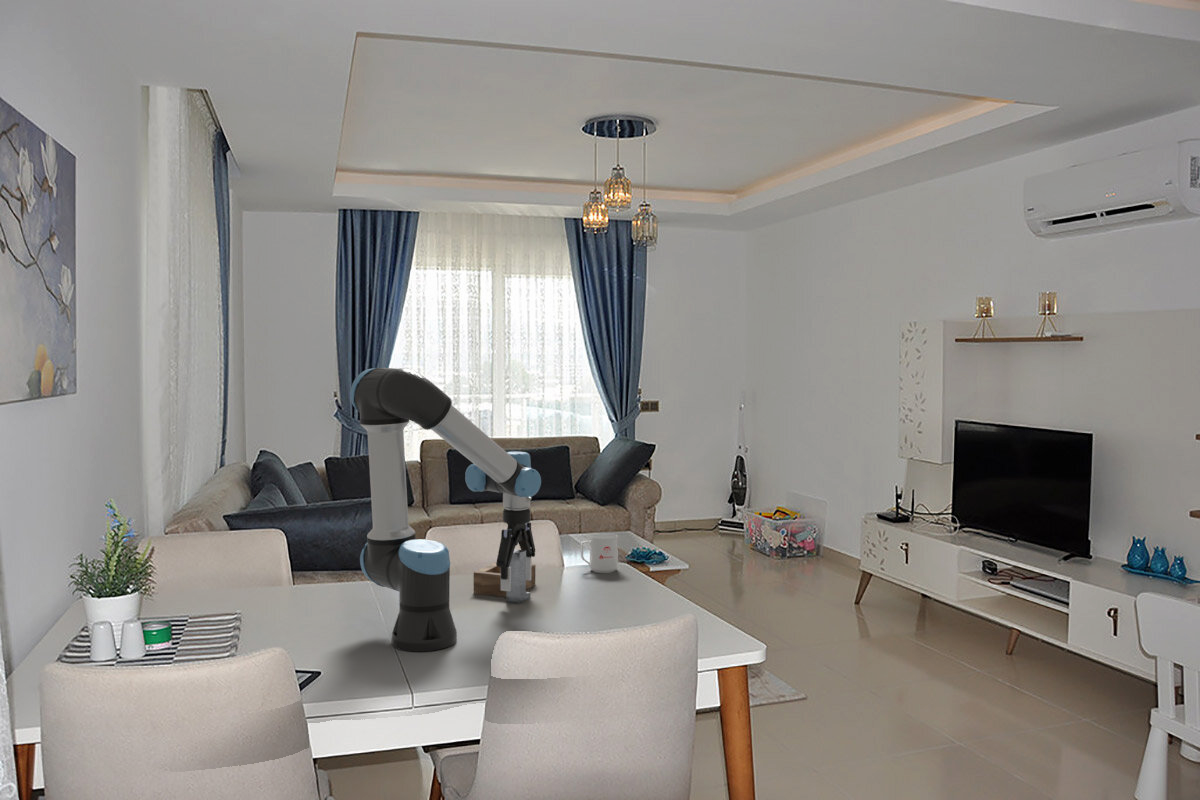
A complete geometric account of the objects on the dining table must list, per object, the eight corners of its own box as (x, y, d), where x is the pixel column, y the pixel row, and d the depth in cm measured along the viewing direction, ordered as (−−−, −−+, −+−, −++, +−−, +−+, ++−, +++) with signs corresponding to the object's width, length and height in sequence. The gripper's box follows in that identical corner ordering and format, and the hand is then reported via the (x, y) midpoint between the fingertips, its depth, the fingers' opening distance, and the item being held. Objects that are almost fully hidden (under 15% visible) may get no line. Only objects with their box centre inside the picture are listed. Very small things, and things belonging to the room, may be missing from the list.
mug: (612, 566, 299) (613, 532, 298) (621, 572, 290) (621, 537, 289) (576, 568, 295) (577, 534, 295) (584, 575, 287) (584, 539, 286)
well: (511, 597, 259) (511, 576, 259) (473, 593, 263) (473, 572, 263) (535, 584, 274) (535, 564, 274) (499, 580, 278) (499, 560, 278)
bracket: (519, 603, 253) (519, 553, 252) (506, 602, 254) (506, 552, 253) (530, 597, 259) (530, 548, 259) (517, 596, 261) (517, 547, 260)
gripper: (509, 516, 241) (508, 597, 242) (547, 502, 264) (546, 576, 265) (483, 514, 244) (483, 594, 245) (523, 500, 267) (523, 574, 268)
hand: (516, 585), depth 255 cm, fingers open, 12 cm apart
